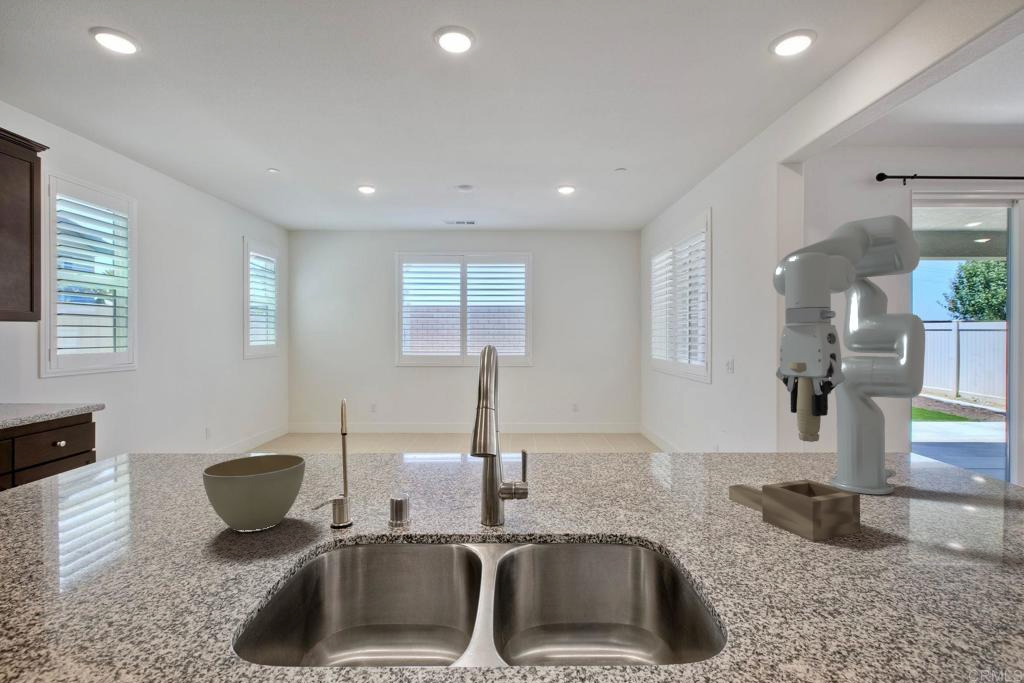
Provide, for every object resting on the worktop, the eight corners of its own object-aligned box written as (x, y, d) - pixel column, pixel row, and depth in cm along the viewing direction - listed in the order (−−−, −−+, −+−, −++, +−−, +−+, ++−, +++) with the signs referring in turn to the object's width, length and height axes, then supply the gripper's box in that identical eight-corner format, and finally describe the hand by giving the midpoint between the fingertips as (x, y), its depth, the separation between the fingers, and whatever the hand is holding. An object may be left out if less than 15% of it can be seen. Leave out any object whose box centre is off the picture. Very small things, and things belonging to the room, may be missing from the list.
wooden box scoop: (756, 495, 115) (756, 464, 115) (860, 532, 93) (859, 494, 93) (714, 501, 111) (714, 469, 111) (812, 541, 89) (812, 501, 89)
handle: (833, 443, 93) (832, 362, 93) (796, 442, 94) (795, 363, 94) (820, 438, 98) (819, 361, 98) (785, 437, 99) (785, 361, 99)
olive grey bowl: (286, 504, 112) (285, 450, 112) (320, 525, 99) (320, 463, 99) (192, 525, 99) (191, 464, 99) (218, 552, 86) (217, 481, 86)
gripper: (865, 316, 90) (866, 418, 90) (785, 320, 105) (786, 407, 105) (835, 316, 87) (836, 421, 87) (757, 320, 103) (758, 409, 103)
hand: (808, 412), depth 96 cm, fingers closed on handle, 3 cm apart
